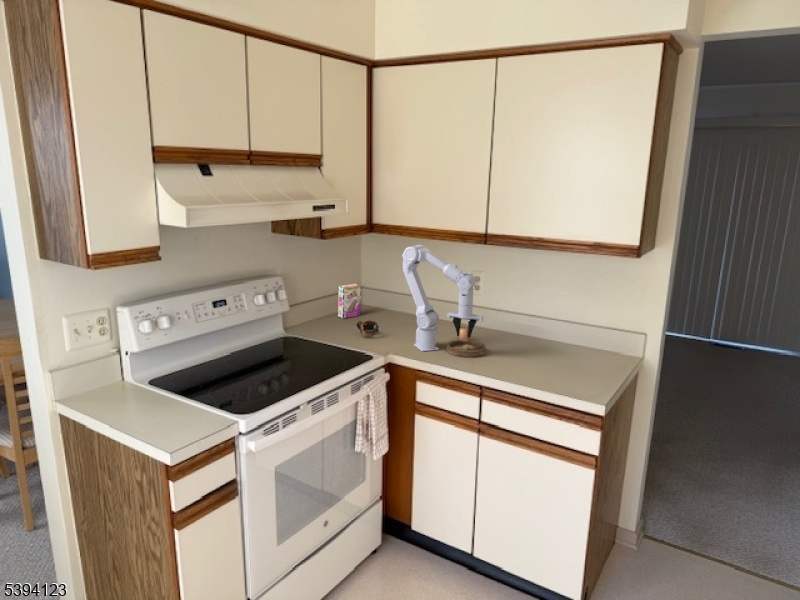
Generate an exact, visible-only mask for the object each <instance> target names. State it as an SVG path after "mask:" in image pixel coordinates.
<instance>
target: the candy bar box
mask: <svg viewBox="0 0 800 600" xmlns="http://www.w3.org/2000/svg"><path fill="white" fill-rule="evenodd" d="M337 295H338V299H337V301H338V302H337V303H338V304H337V306H338V307H337V312H338V313H337V317H338V318H340V319H344V320H345V319H349V318H355V317H361V305H362V303H361V299H362V285H360V284H357V283H352V284H344V285H338V294H337Z"/></svg>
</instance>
